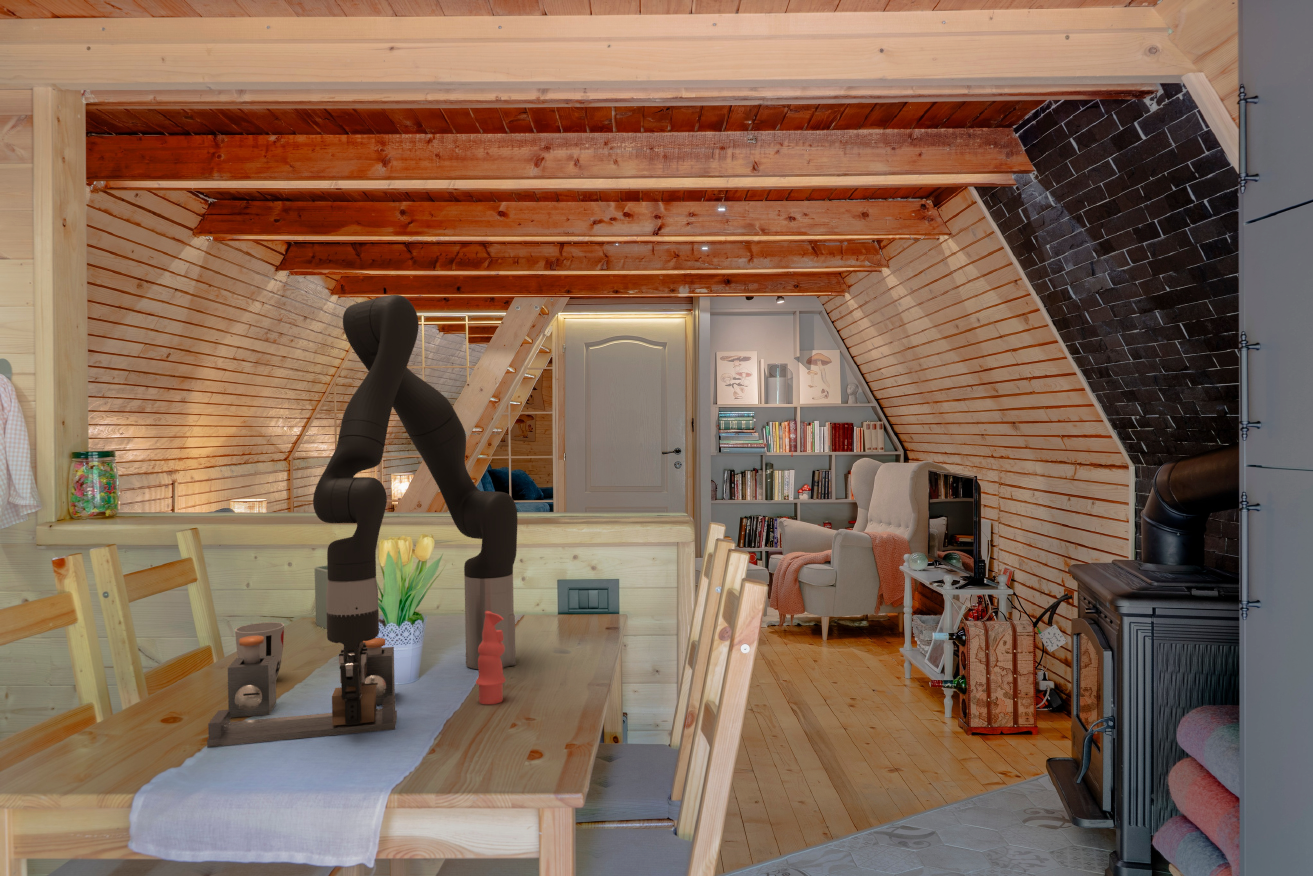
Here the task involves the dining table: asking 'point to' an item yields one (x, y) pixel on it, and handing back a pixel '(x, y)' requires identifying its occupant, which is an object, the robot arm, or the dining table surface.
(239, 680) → the cabinet
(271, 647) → the cup
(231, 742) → the rail
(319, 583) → the planter
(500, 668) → the figurine
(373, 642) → the plunger
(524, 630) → the dining table surface
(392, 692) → the cabinet
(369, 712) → the carriage
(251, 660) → the plunger
